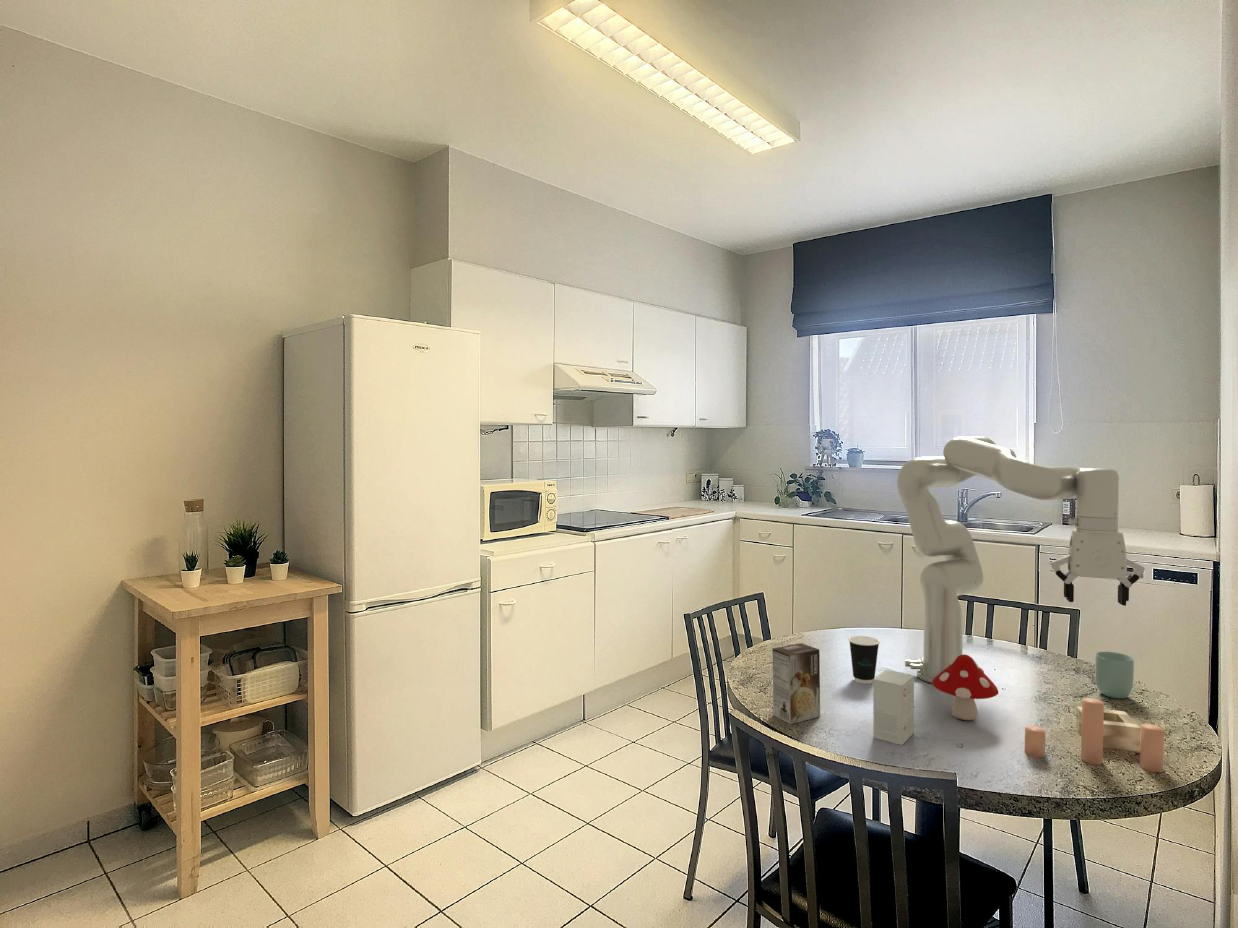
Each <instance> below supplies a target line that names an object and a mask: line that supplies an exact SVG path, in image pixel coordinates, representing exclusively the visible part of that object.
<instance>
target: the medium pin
mask: <svg viewBox="0 0 1238 928" xmlns="http://www.w3.org/2000/svg"><path fill="white" fill-rule="evenodd" d="M1164 732H1165V729H1164V728H1163V727H1160V726H1159V725H1154V724H1150V723H1149V724H1148V723H1144V724H1140V752H1139V768H1141V769H1143V770H1145V771H1148V772H1151V773H1156V772H1160V773H1163V772H1164V753H1165V752H1164V751H1165V749H1164V746H1165V745H1164V744H1165V741H1164V740H1165V733H1164Z"/></svg>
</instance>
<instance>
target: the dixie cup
mask: <svg viewBox="0 0 1238 928" xmlns="http://www.w3.org/2000/svg"><path fill="white" fill-rule="evenodd" d="M848 641H849V648H850V649H849V650H850V657H851V665H852V666H851V667H852V677H854V678H853V680H854V682H856V683H859V684H867V685H868V684H873V679H874V678H876V671H877V662H878V651H879V644H880V643H881V641H880V640H879V639H878V638H876V637H872V636H867V635H854V636H853V635H852V636H849V638H848Z"/></svg>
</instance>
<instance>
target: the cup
mask: <svg viewBox="0 0 1238 928" xmlns="http://www.w3.org/2000/svg"><path fill="white" fill-rule="evenodd" d="M1094 656H1095V657H1094V661H1095V662H1094V678H1095V679H1094V680H1095V684H1096V688H1097V690H1098V692H1100V693H1101V694H1102V695H1104V696H1106V697H1109V698H1113V699H1125V698H1127V697H1129V696H1130V695H1131V693H1132V691H1133V686H1134V681H1135V679H1134V678H1135V675H1134V674H1135V661H1134V658H1133V657H1132V656H1130V655H1127V654H1124V653H1120V652H1116V651H1115V652H1114V651H1097V652H1096V653H1095V655H1094Z"/></svg>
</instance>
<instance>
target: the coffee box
mask: <svg viewBox="0 0 1238 928" xmlns="http://www.w3.org/2000/svg"><path fill="white" fill-rule="evenodd" d="M820 657H821V656H820V649H819V648H817V647H813V646H811V645H808V644H805V643H802V642H799V643H795V644H790V645H785V646H779V647H774V648H772V694H773V695H772V715H773V716H774V717H776V718H778V719H780V720H781V721H784V722H785V723H788V724H789V725H793V724H794V725H795V724H797V723H800V722H805V721H808V720H812V719H816V718H820V717H821V698H820V697H821V689H820V688H821V675H820V674H821V673H820V671H821V670H820V668H821V667H820V664H821V663H820V662H821V661H820Z"/></svg>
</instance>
